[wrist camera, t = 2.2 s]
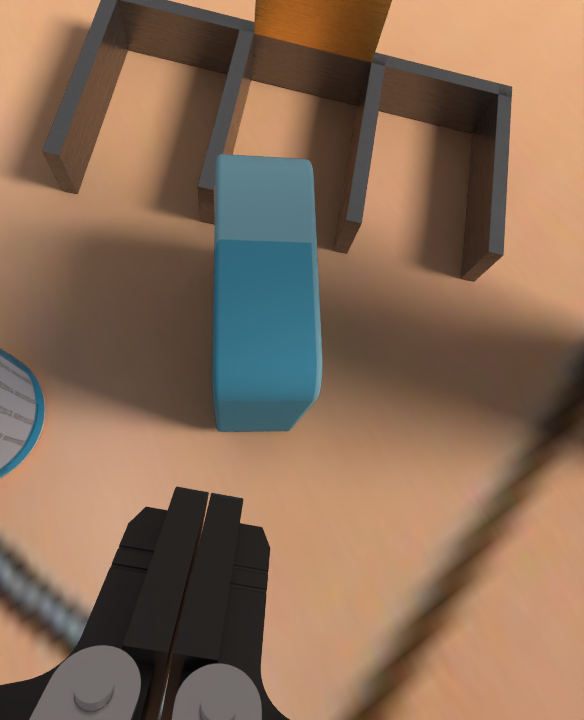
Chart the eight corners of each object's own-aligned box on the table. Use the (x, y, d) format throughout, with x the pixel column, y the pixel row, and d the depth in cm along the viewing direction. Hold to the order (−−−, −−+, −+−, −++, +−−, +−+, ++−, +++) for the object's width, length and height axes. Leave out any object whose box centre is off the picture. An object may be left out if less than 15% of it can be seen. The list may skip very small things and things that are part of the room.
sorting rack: (485, 126, 41) (554, 24, 32) (474, 281, 36) (550, 212, 28) (118, 36, 39) (87, -98, 30) (62, 190, 34) (8, 85, 26)
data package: (218, 259, 35) (215, 137, 23) (284, 261, 35) (313, 143, 24) (216, 435, 31) (212, 394, 20) (289, 434, 32) (325, 394, 20)
